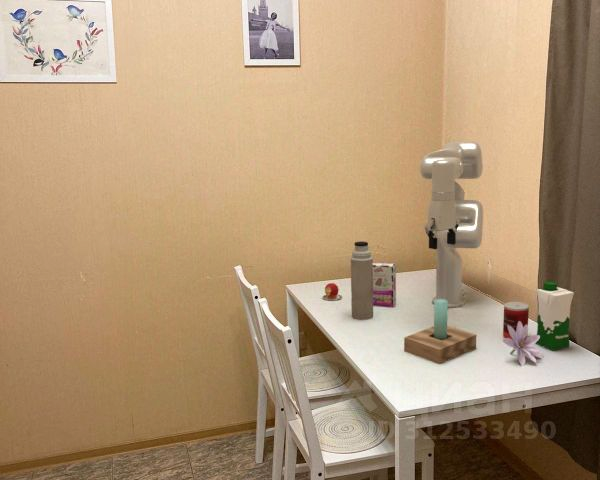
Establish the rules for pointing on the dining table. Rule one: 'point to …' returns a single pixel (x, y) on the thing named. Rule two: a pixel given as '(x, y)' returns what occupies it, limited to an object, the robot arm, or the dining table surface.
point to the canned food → (514, 316)
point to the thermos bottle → (362, 282)
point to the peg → (440, 319)
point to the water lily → (522, 347)
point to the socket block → (440, 344)
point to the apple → (331, 292)
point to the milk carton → (553, 316)
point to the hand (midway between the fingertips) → (442, 246)
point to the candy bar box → (384, 284)
